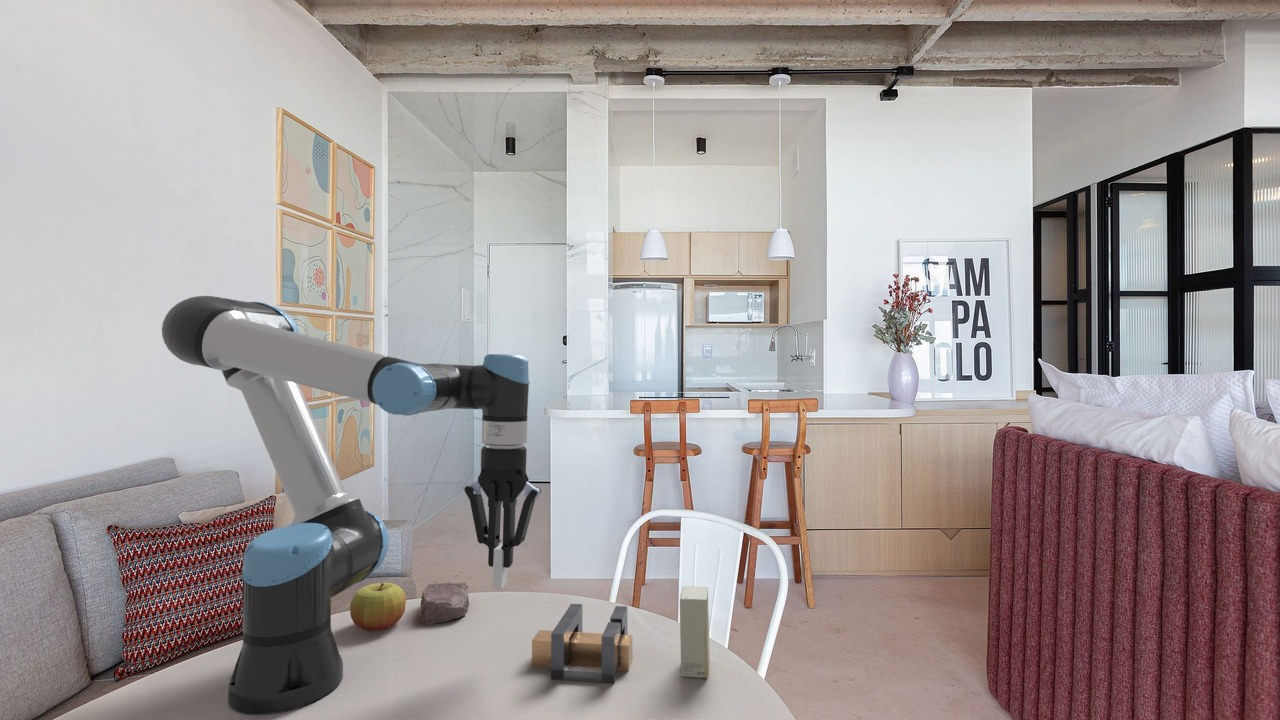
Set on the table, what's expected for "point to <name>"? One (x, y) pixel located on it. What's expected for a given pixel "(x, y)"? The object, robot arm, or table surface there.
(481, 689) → the table surface
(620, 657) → the block
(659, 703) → the table surface
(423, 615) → the stone
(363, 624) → the apple
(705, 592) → the skincare box
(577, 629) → the grey open frame bracket
